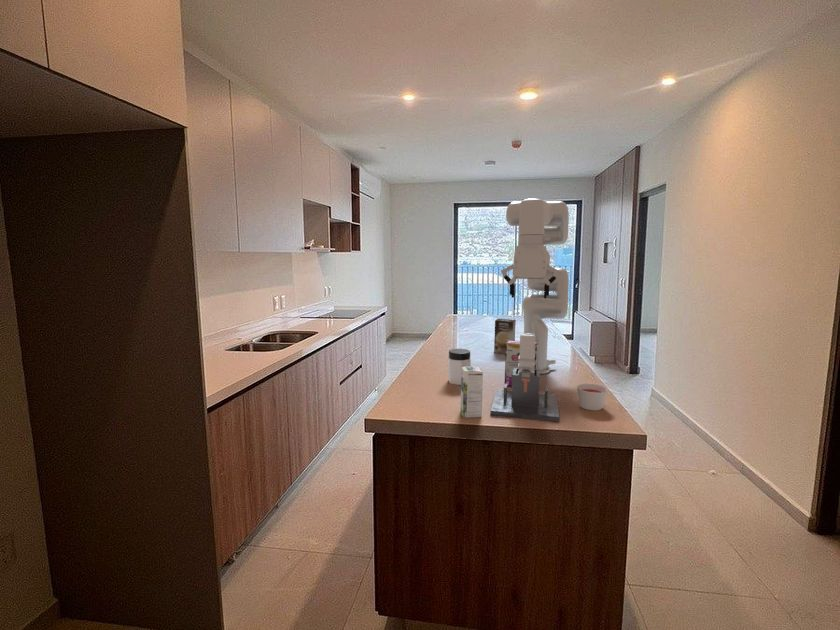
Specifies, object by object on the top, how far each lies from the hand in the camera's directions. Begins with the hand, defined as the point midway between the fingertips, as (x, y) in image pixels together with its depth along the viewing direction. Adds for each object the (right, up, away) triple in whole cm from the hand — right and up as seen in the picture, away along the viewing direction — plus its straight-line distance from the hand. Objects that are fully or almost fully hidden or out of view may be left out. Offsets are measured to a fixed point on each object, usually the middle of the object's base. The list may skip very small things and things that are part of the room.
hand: (528, 297), depth 133 cm
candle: (+21, -35, +5) cm, 41 cm away
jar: (-19, -31, +32) cm, 48 cm away
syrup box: (-18, -36, 0) cm, 40 cm away
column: (0, -33, +5) cm, 34 cm away
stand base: (0, -35, +6) cm, 35 cm away
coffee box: (+7, -24, +78) cm, 81 cm away
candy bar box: (+4, -32, +27) cm, 42 cm away
